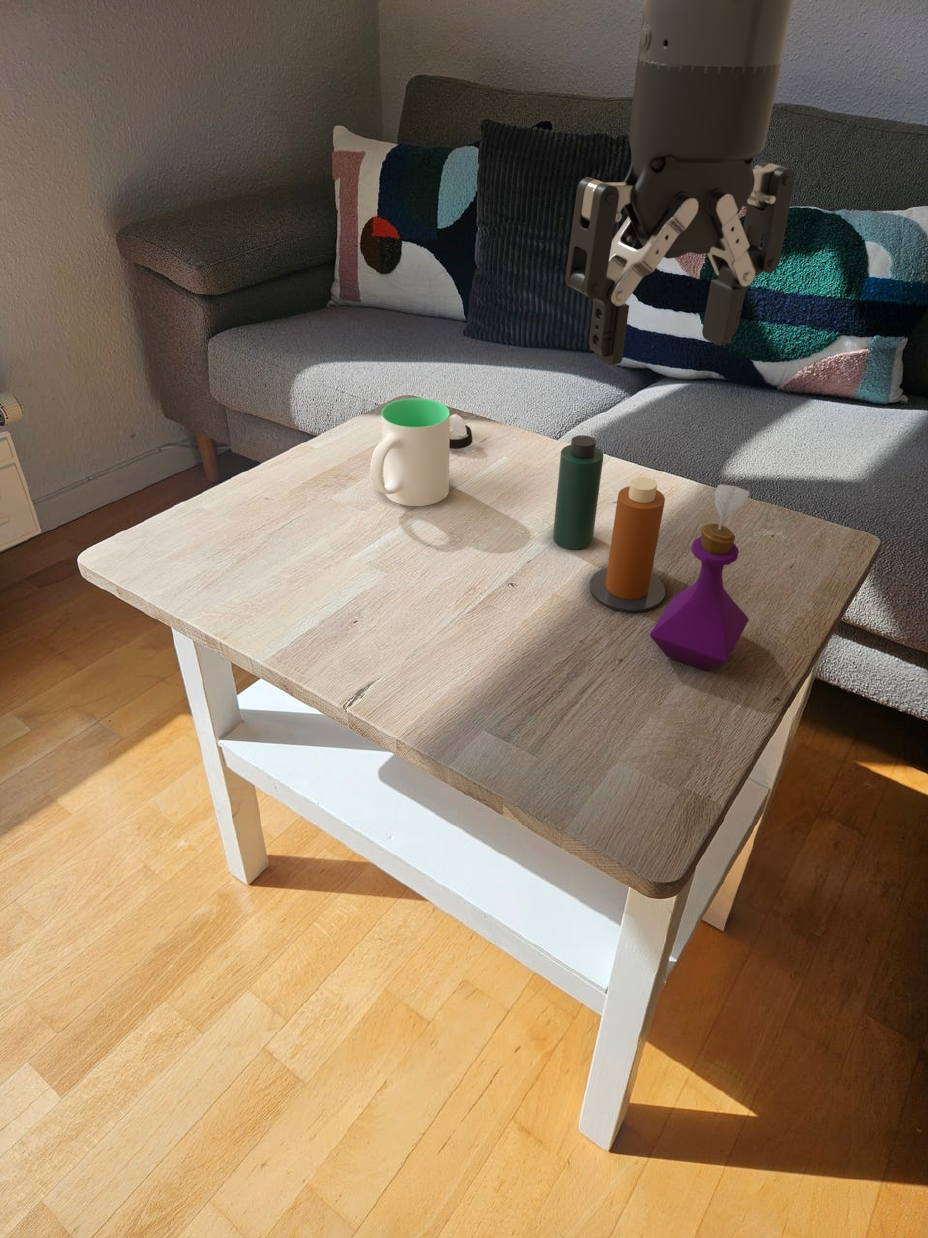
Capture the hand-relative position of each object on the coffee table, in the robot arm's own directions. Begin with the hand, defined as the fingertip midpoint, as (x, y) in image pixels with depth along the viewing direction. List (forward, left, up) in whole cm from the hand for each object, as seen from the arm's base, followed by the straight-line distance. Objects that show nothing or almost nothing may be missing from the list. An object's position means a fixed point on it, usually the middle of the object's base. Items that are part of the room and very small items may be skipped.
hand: (663, 350), depth 56 cm
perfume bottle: (-11, -9, -34) cm, 37 cm away
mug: (+16, -41, -34) cm, 55 cm away
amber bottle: (-7, -20, -33) cm, 39 cm away
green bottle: (-2, -30, -34) cm, 45 cm away
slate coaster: (-7, -20, -34) cm, 40 cm away
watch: (+10, -56, -34) cm, 66 cm away
